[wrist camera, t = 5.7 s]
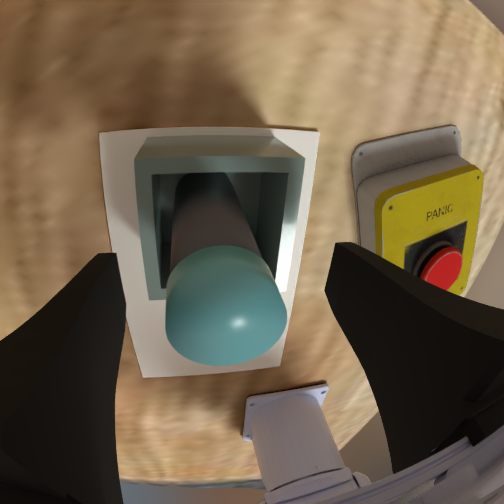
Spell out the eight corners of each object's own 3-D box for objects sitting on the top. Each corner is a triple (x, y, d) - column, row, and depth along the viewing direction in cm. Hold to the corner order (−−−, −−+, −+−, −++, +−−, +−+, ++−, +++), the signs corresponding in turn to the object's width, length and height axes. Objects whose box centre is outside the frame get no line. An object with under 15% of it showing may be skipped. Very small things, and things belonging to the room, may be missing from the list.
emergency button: (382, 360, 21) (387, 167, 13) (358, 322, 25) (344, 144, 17) (470, 313, 22) (501, 139, 13) (442, 284, 25) (454, 121, 17)
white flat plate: (279, 364, 25) (279, 366, 24) (143, 375, 22) (143, 377, 22) (318, 131, 15) (319, 132, 15) (100, 132, 13) (99, 133, 13)
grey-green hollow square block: (263, 243, 18) (286, 291, 14) (154, 248, 17) (149, 300, 13) (273, 135, 15) (305, 158, 11) (147, 136, 14) (133, 159, 10)
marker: (235, 223, 17) (279, 359, 9) (174, 226, 16) (173, 369, 9) (237, 165, 15) (295, 273, 7) (171, 167, 14) (157, 283, 7)
